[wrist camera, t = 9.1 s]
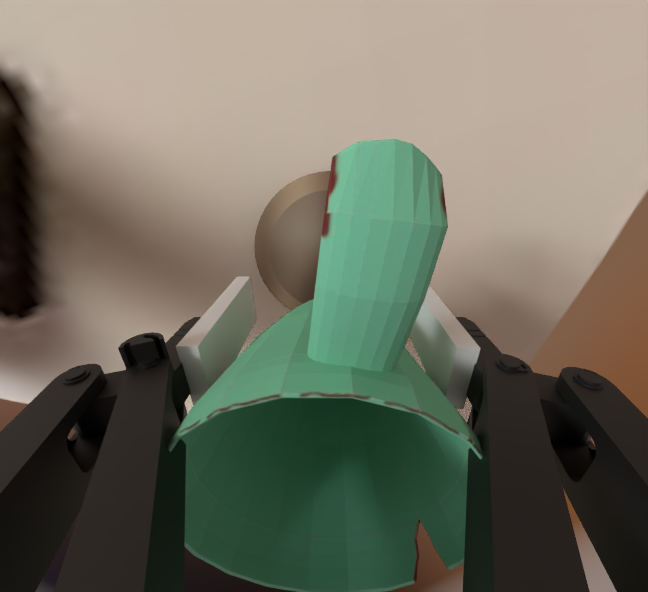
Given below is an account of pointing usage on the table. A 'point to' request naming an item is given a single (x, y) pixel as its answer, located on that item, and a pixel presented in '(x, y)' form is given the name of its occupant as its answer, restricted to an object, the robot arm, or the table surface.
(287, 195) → the plate
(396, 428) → the mug
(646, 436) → the robot arm
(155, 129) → the table surface
